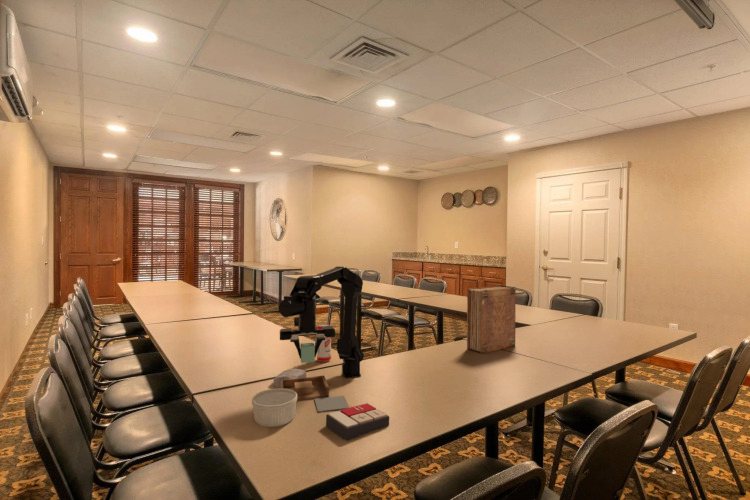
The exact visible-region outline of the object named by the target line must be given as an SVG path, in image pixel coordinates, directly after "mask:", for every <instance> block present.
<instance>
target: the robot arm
mask: <svg viewBox="0 0 750 500" xmlns="http://www.w3.org/2000/svg"><path fill="white" fill-rule="evenodd" d="M334 281H336V282H337V283H339V284H340V288H341V293H342V294H343V298H344V305H343V306H344V307H343V322H342V323H343V326H342V335H341V336H340V338H337V340H336V350H337V354H338V358H339V360H342V363H341V374H342V375H343V377H344V378H346V379H347V378H357V377H358V378H359V377H360V378H361V377H362V374H361V363H360V362H362V361H363V360H364V357H365V354H364V352H363V351H362V350H361V349H360V342H359V339H358V338H357V335H356V328H357V311H358V309H357V308H358V298H359V296H360V295H361V293H362V291H363V286H364V285H363V284H364V282H363V279H362V277H361V276H359V275H358V274H357V273H355V272H353V271H352V270H350V269H349V268H348V267H346V266H339V265H338V266H335V267H333V268H330V269H328V270H326V271H322V272H320V273H317V274H313V275H300V276H298V277H297V278H296V282H295V284H294V285H293V288H292V289H291V292H290V293H289V295H284V296H283V300H282V301H281V302H280V303H279V307H278V309H279V310H278V311H279V313H280V315H281V316H282V317H283V318H290V317H293V326H294V327H298V330H292V327H289V328H287V327H286V328H281V329H280V330H279V341H290V343H293V344H294V346H295V348H296V350H297V354H298V357H299V359H301V343H300V337H303V336H304V337H305V336H306V337H307V336H315V338H314V346H315V358H317V351H318V349H319V346H320V344H321V342H322V340H325V337H331V338H335V337H336V329H335V327H334V326H333V325H330V326H323V327H322V329H317V322H316V319H317V316H316V315H317V314H316V313H317V311H316V309H317V305H316V302H317V299H320V298H321V296H320V295H319V294H317V292H319V291H320V290H322V287H323V286H325V285H327V284H330V283H332V282H334ZM295 316H296V317H295ZM324 336H325V337H324Z"/></svg>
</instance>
